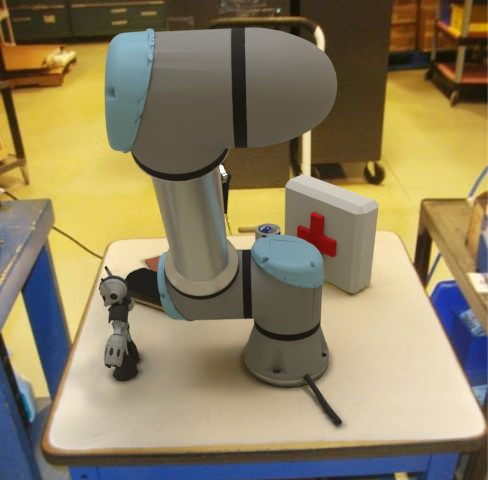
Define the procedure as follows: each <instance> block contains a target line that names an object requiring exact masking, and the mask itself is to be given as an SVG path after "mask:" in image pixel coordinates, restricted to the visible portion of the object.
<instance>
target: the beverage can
mask: <svg viewBox="0 0 488 480" xmlns="http://www.w3.org/2000/svg"><path fill="white" fill-rule="evenodd" d="M281 231H282V230H281V227H280V226H279V225H278V224H275V223H269V222H268V223H267V222H266V223H261V224H258V225H257V226H256V227H255V229H254V237H255V238H254V240H255V241H256V240H258V239H259V238H261V237H264V238H265V237H266V236H267V235H276V234H278V235H282V234H281V233H282V232H281ZM255 241H254V242H255Z"/></svg>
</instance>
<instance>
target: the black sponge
mask: <svg viewBox="0 0 488 480" xmlns="http://www.w3.org/2000/svg"><path fill="white" fill-rule="evenodd" d="M124 280H125V281H126V282H127V284H128V286H129V294H130V296H131V298H133V301H134V302H137V303H140V304H144V305H146V306H149V307H153V308H154V309H155V308H156V309H160V310H161V311H164V309H163V306H162V303H161V299H160V293H159V289H158V279H157V272H156V271H153V270H151V269H150V268H148V267H140V268H136V269H134V270H132V271H130V272H128V273H127V275H126V277H125V278H124Z"/></svg>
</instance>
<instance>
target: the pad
mask: <svg viewBox="0 0 488 480" xmlns="http://www.w3.org/2000/svg"><path fill="white" fill-rule="evenodd" d="M160 256H161V255H158V256H154V257H150V258H147V259H144V262H145V263H146V265H147V266H148V267H149V269H150V270H153V271H156V272H157V271H158V262H159V258H160Z"/></svg>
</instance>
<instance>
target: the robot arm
mask: <svg viewBox="0 0 488 480" xmlns="http://www.w3.org/2000/svg"><path fill="white" fill-rule="evenodd" d="M104 68H105V69H104V118H105V129H106V136H107V137H106V138H107V142H108V144H109V145H108V146H109V147H110V148H111V149H112V150H113V151H114V152H115V151H116V152H121V153H123V154H128V153H131V156H132V159H133V161H134V163H135V165H136V166H137V167H138V168H139V169H140V171H142V172H143V173H144V174H145V175H147V176H149V177H150V179H151V182H152V186H153V189H154V193H155V194H154V195H155V197H156V201H157V206H158V209H159V213H160V217H161V221H162V225H163V229H164V233H165V236H166V237H165V238H166V241H167V244H168V249H167V251H165V252H163V253H162V254H161V255H159V256H160V258H159V262H158V271H157V279H158V289H159V293H160V299H161V303H162V306H163V309H164V310H163V311H164V313H165V314H166V315H167V316H168V317H169V318H170V319H172V320H174V321H175V320H176V321H185V322H195V321H221V320H223V321H224V320H253V326H252V328H251V331H250V334H249V337H248V340H247V342H246V345H245V347H244V364H245V367H246V369H247V371H248V372H249V374H251V376H253V377H254V378H256V379H257V380H259V381H260V382H262V383H265V384H267V385H271V386H276V387H284V388H288V387H289V388H291V387H300V386H304V385H308V386H309V387H310V389H311V391H312V392H313V394H314V395H315V397H316V399H317V400H318V402H319V403H320V405H321V406H322V407H323V409H324V411H326V413H327V414H328V415H329V417H330V418H331V419H332V420H333V422H334V423H335V424H336V425H338V426H340V425H342V423H343V420H342V418H340V416H339V415H338V414H337V412H336V411H335V410H334V409H333V408H332V406H331V405H330V404H329V402H328V401H327V400H326V398H325V397H324V395H323V394H322V392H321V391H320V389H319V387H318V386H317V384H316V383H315V381H316V380H318V379H319V378H320V377H322V376H323V375H324V374H325V373H326V371H327V369H328V367H329V362H330V352H329V346H328V344H327V340H326V337H325V335H324V334H325V333H324V331H323V328H322V325H321V322H322V306H323V305H322V303H323V287H324V286H323V285H324V282H325V280H324V274H323V258H322V255H321V253H320V252H319V250H318V249H317V248H316V247H315V246H314V245H312V244H311V243H308V242H307V241H305V240H303V239H301V238H298V237H294V236H289V235H285V234H281V235H278V234H276V235H267V236H266V237H265V238H264V237H261V238H259V239H258V240H256V241H254V242H253V244H252V246H251V248H249V249H247V248H246V249H244V248H243V249H240V248H239V249H238V248H237V249H236V247H235V246H234V244H233V243H232V242H231V241H230V240H229V239H228V237H227V227H226V214H228V208H229V207H228V205H229V193H230V183H231V179H232V173H231V172H230V171H229V172H228V171H227V172H226V170H225V167H226V163H225V162H226V161H225V160H226V158H227V157H228V154H229V152H230V149H248V148H250V149H252V148H253V149H254V148H264V147H269V146H275V145H278V144H281V143H285V142H288V141H291V140H293V139H296V138H297V137H300V136H303V135H305V134H306V133H309V132H311V130H313V129H314V128H316V127H317V126H318V125H320V124H321V123H323V121H324V120H325V119H326V118H327V117H328V115H329V114H330V112H331V110H332V109H333V106H334V104H335V101H336V98H337V93H338V92H337V91H338V78H337V72H336V70H335V67H334V64H333V62H332V61H331V59H330V58H329V56H328V55H327V54H326V52H324V50H323V49H321V48H320V47H319V46H317V45H316V44H314V43H313V42H311V41H309V40H306V38H305V39H304V38H302V37H301V36H297V35H294V34H292V33H288V32H286V31H282V30H277V29H271V28H264V27H244V28H241V27H240V28H214V29H213V28H212V29H209V28H208V29H190V30H170V31H169V30H168V31H165V30H164V31H155V30H154V28H147V29H145V31H131V32H121V33H119V34H116V35H115V36H114V37H113V38H112V39H111V41H110V42H109V45H108V48H107V51H106V58H105V66H104Z"/></svg>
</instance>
